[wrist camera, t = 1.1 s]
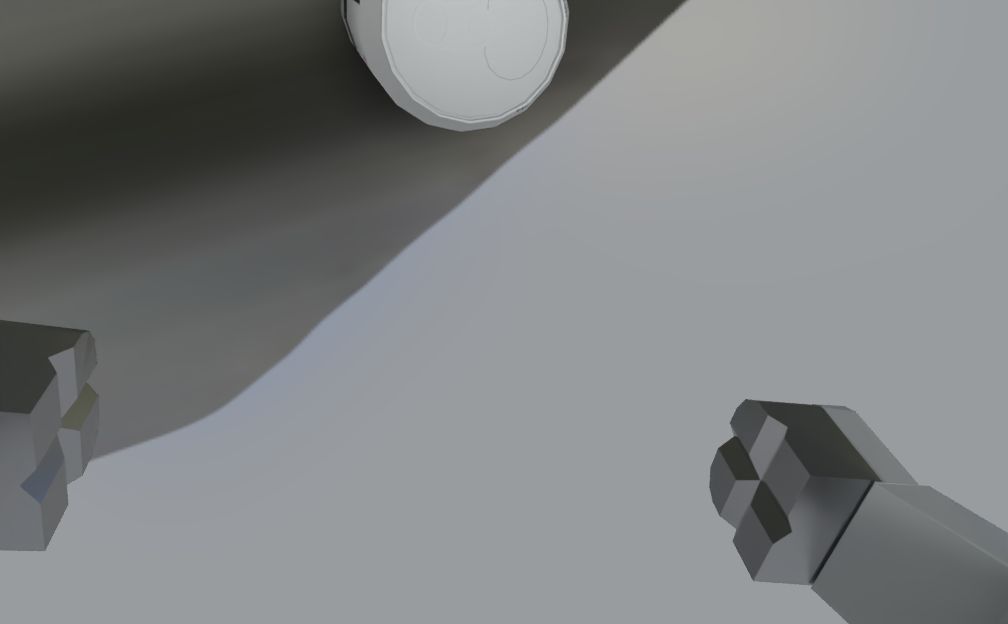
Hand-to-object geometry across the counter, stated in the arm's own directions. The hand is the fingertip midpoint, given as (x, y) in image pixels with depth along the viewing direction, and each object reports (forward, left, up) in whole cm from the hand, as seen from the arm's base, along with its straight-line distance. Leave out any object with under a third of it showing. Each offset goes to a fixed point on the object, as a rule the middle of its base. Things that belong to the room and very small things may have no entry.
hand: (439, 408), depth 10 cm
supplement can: (+5, +2, -36) cm, 37 cm away
